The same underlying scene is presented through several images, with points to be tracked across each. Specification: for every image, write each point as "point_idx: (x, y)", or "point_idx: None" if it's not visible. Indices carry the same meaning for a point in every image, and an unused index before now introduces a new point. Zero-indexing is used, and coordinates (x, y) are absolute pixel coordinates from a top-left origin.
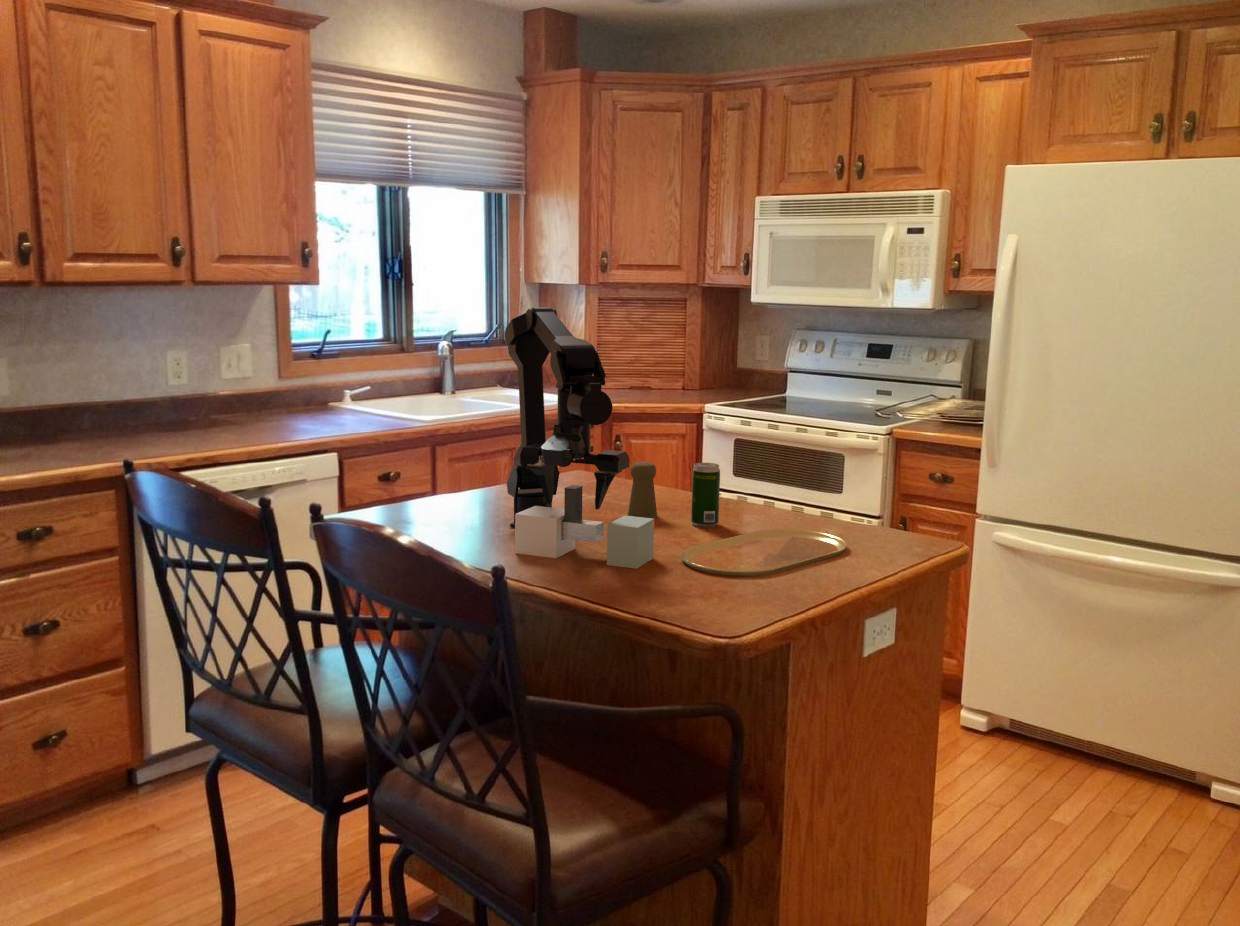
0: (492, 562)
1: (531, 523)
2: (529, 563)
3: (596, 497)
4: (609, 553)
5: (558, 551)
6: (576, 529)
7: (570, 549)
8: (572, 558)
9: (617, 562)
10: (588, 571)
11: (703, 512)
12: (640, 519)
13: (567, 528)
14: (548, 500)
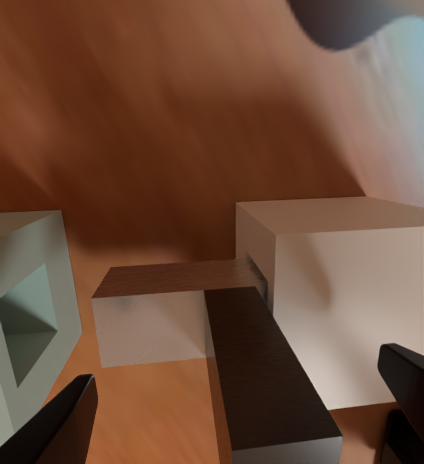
0: (391, 65)
1: (383, 219)
2: (283, 110)
3: (38, 435)
4: (33, 218)
5: (239, 221)
6: (193, 278)
7: None
8: (193, 226)
9: (16, 214)
10: (68, 110)
11: None
12: None
13: (234, 275)
14: (401, 352)
